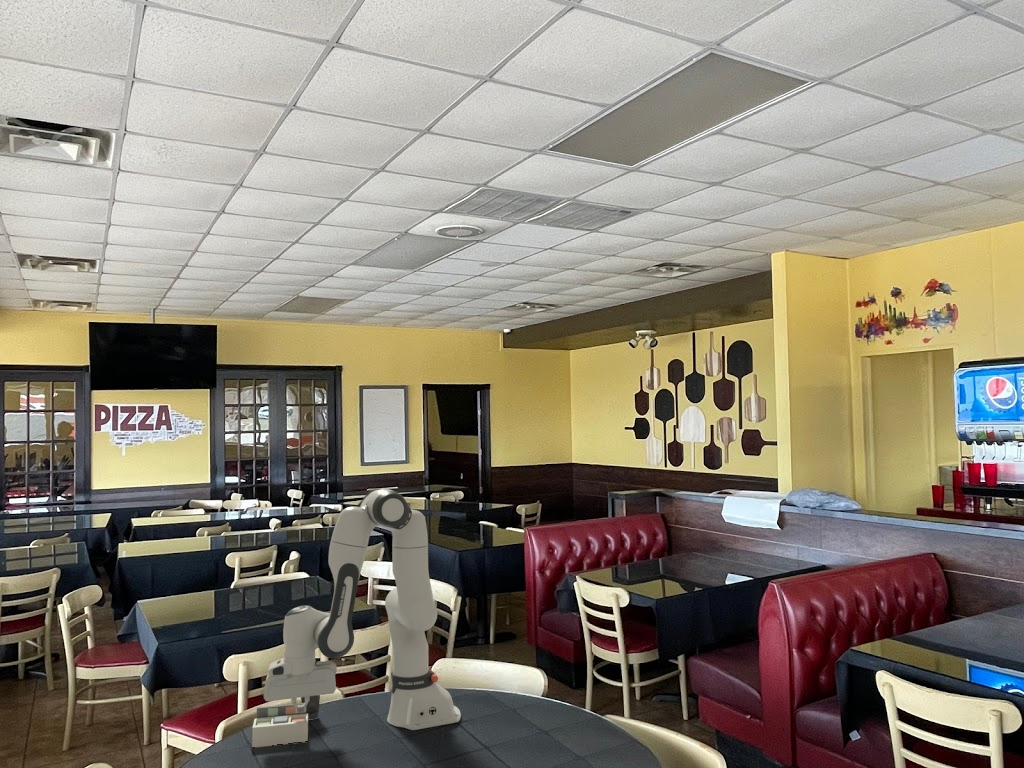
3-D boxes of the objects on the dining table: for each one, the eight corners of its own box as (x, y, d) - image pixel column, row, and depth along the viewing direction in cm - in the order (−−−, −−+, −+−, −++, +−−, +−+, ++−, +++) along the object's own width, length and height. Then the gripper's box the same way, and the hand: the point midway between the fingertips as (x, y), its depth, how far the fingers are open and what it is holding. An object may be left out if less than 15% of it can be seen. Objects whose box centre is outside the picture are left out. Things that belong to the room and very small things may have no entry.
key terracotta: (304, 725, 222) (304, 718, 222) (304, 729, 219) (304, 722, 219) (291, 726, 221) (291, 719, 222) (291, 731, 218) (291, 724, 218)
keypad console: (308, 730, 226) (308, 702, 226) (307, 741, 217) (307, 713, 218) (255, 735, 222) (255, 707, 223) (252, 747, 214) (252, 718, 214)
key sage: (270, 728, 220) (270, 721, 220) (269, 733, 217) (269, 726, 217) (257, 729, 219) (257, 722, 219) (256, 734, 216) (256, 727, 216)
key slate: (287, 722, 221) (287, 715, 221) (287, 727, 218) (287, 720, 218) (274, 724, 220) (274, 717, 220) (273, 728, 217) (274, 721, 217)
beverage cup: (315, 723, 231) (316, 656, 232) (293, 721, 232) (294, 655, 234) (326, 714, 238) (326, 649, 239) (304, 713, 240) (305, 648, 241)
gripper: (336, 656, 227) (337, 703, 226) (264, 664, 222) (265, 712, 221) (336, 663, 221) (337, 711, 220) (262, 671, 216) (263, 720, 215)
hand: (300, 712), depth 221 cm, fingers closed
